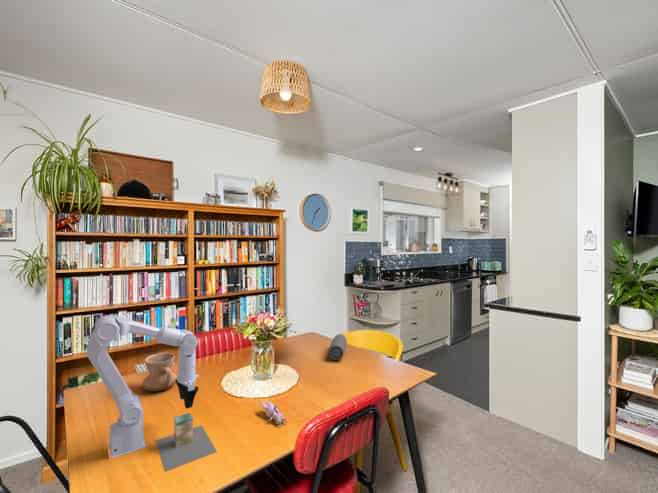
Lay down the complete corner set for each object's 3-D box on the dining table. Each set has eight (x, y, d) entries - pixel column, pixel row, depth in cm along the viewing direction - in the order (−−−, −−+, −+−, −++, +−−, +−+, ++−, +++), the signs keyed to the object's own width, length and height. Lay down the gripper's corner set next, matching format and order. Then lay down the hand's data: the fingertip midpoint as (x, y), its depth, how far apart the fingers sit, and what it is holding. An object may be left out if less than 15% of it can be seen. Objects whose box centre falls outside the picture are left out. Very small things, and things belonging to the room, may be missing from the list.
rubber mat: (165, 473, 91) (165, 471, 91) (155, 441, 106) (155, 440, 106) (217, 453, 100) (217, 451, 100) (201, 426, 115) (201, 425, 115)
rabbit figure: (290, 426, 118) (269, 404, 129) (292, 411, 117) (271, 391, 128) (276, 432, 114) (256, 409, 125) (277, 417, 113) (257, 395, 124)
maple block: (176, 447, 102) (176, 422, 102) (174, 440, 106) (174, 417, 105) (192, 441, 105) (192, 417, 105) (189, 435, 109) (190, 412, 108)
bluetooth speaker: (332, 348, 202) (333, 332, 202) (347, 349, 201) (347, 333, 201) (327, 361, 180) (328, 344, 179) (344, 362, 178) (344, 345, 178)
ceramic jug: (136, 386, 146) (136, 356, 145) (168, 376, 157) (168, 348, 156) (151, 400, 134) (151, 368, 133) (185, 388, 145) (185, 358, 144)
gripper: (203, 369, 110) (203, 408, 110) (193, 357, 121) (192, 392, 121) (182, 374, 106) (181, 414, 106) (173, 361, 117) (173, 397, 117)
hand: (186, 403), depth 113 cm, fingers open, 7 cm apart
